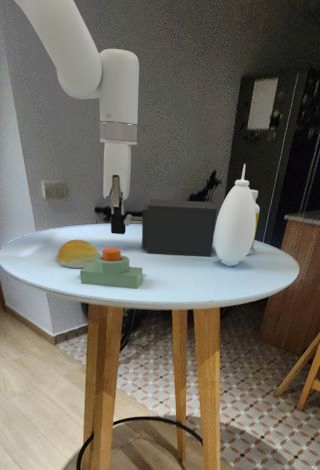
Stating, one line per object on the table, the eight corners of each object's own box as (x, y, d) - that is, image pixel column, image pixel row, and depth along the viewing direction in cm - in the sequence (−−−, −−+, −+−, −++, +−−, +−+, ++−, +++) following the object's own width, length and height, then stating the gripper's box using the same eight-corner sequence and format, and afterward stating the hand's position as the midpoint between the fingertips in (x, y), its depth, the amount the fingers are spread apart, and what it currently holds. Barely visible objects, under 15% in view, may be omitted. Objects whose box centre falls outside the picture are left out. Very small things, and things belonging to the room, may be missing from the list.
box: (80, 284, 63) (78, 260, 61) (90, 274, 68) (88, 251, 66) (136, 289, 62) (136, 265, 60) (142, 279, 67) (143, 256, 65)
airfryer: (147, 253, 83) (148, 205, 77) (149, 243, 91) (150, 198, 85) (211, 256, 83) (216, 208, 77) (207, 246, 91) (212, 202, 85)
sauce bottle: (204, 261, 79) (215, 161, 68) (234, 259, 82) (249, 162, 71) (223, 271, 73) (239, 164, 63) (255, 268, 76) (275, 165, 66)
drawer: (123, 247, 83) (122, 208, 78) (127, 238, 90) (127, 202, 85) (201, 251, 83) (205, 212, 78) (198, 242, 90) (202, 206, 85)
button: (100, 262, 62) (100, 251, 61) (105, 258, 64) (105, 247, 63) (118, 263, 62) (117, 253, 61) (122, 259, 64) (122, 248, 63)
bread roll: (57, 269, 70) (54, 247, 67) (59, 257, 77) (57, 236, 74) (101, 269, 71) (99, 247, 69) (99, 257, 78) (98, 237, 76)
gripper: (105, 134, 80) (106, 226, 91) (94, 132, 68) (97, 238, 79) (139, 137, 80) (136, 228, 91) (134, 135, 68) (131, 241, 79)
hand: (118, 233), depth 85 cm, fingers closed
